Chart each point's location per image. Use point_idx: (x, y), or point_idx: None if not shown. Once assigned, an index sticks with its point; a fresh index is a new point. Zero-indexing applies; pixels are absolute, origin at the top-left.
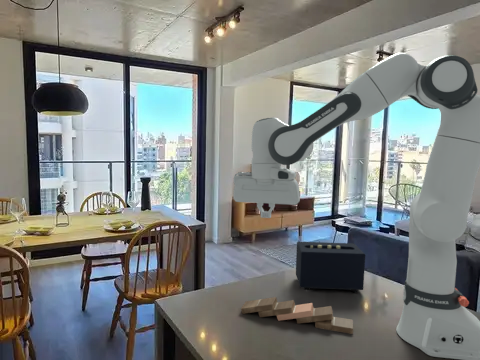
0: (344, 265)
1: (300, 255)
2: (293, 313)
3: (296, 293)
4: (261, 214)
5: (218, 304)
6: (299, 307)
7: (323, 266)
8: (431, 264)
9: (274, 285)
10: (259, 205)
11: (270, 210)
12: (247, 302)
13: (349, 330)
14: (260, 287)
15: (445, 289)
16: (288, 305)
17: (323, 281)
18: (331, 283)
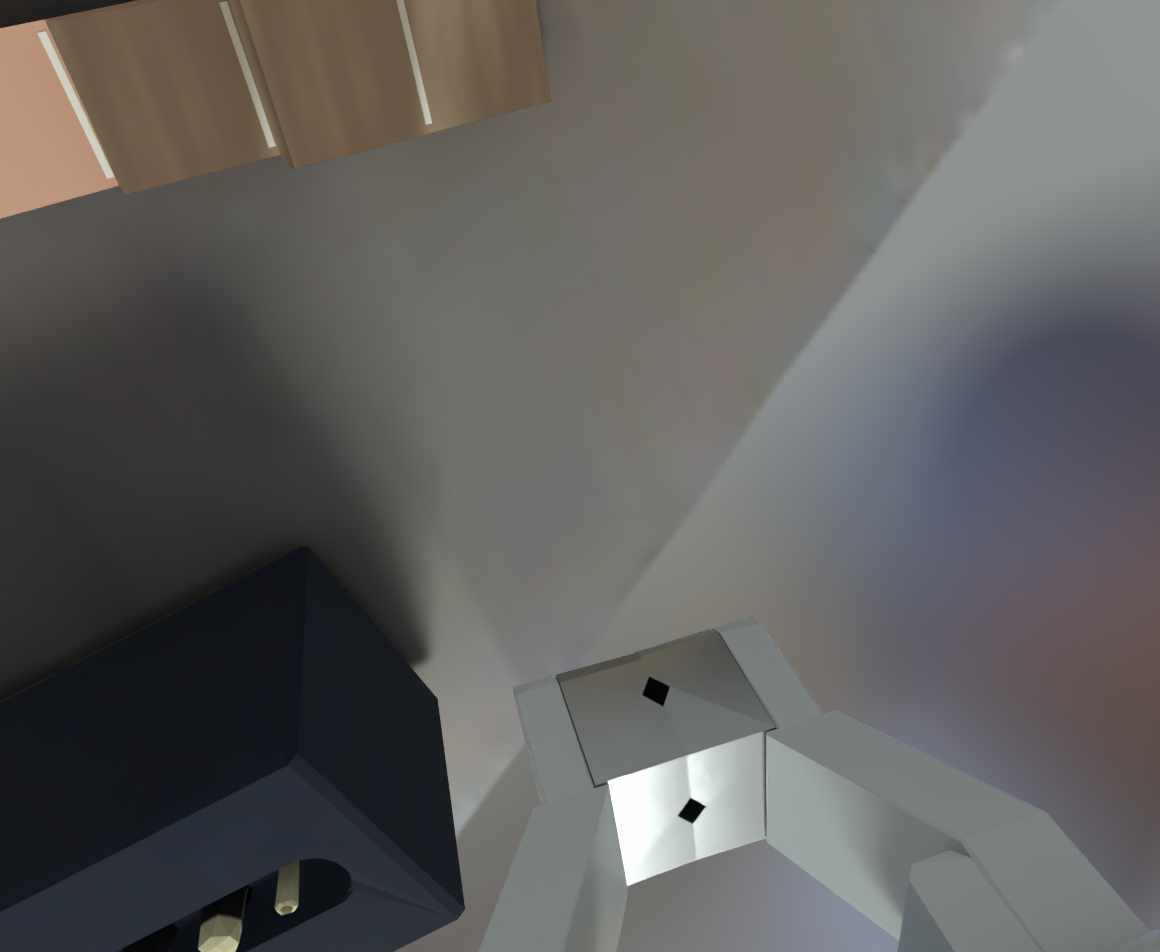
0: None
1: (326, 744)
2: (37, 21)
3: (315, 490)
4: (765, 667)
5: (739, 3)
6: (40, 138)
7: (124, 745)
8: None
9: (506, 511)
10: (993, 876)
11: (536, 867)
12: (525, 76)
13: None
14: (577, 432)
15: None
16: (112, 75)
17: (146, 655)
18: (94, 673)
